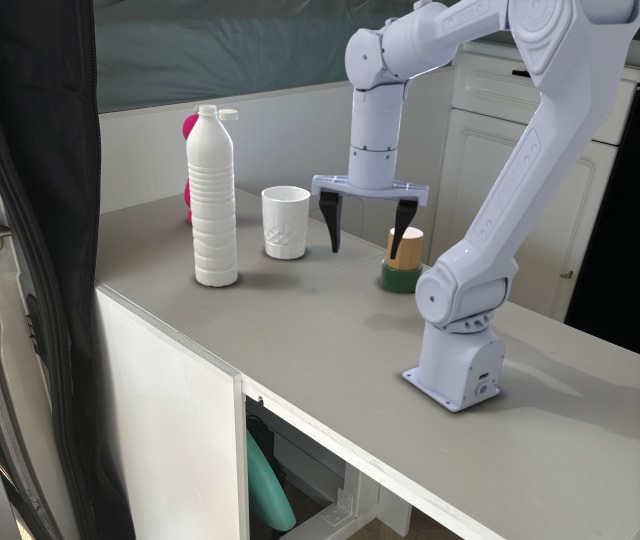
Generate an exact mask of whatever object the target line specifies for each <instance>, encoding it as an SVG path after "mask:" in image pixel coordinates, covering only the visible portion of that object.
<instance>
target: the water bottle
mask: <svg viewBox="0 0 640 540" xmlns="http://www.w3.org/2000/svg"><path fill="white" fill-rule="evenodd" d="M199 105H200V106H199V111H200V112H198V114H199V118H198V120H197V122H196V124H195V125H194V127H193V129H192V131H191V133H190V134H189V136H188V139H187V140H186V144H185V145H186V147H185V150H186V158H187V167H188V168H187V171H188V177H189V184H190V196H191V198H190V201H191V212H192V224H191V226H192V237H193V241H192V242H193V250H194V254H193V255H194V262H195V263H194V269H195V270H194V271H195V279H196V281H197V282H198V283H199V284H202V285H203V286H206V287H211V286H212V287H214V288H215V287H216V288H217V287H218V288H219V287H220V288H221V287H224V286H229V285H232V284H234V283H235V282H236V281H237V280H238V277H239V276H238V273H239V272H238V263H237V261H238V253H237V238H236V235H237V228H236V224H237V221H236V219H237V218H236V214H235V213H236V199H235V173H234V172H235V170H234V144H233V140H232V138H231V136H230V135H229V133H228V131H227V130H226V128H225V127H224V125H223V124H222V122H221V121H224V122H233V121H238V119H239V117H238V116H239V115H238V113H239V112H238V110H236V109H230V108H223V109H219V110H217V106H216V105H214V104H199ZM220 120H221V121H220Z"/></svg>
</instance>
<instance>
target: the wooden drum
mask: <svg viewBox="0 0 640 540" xmlns="http://www.w3.org/2000/svg"><path fill="white" fill-rule="evenodd" d="M394 229H395V227H393V228H391V229H390V230H389V234H388V241H387V242H388V243H387V249H386V257H385V258H386V263H387V264H388V265H389V266H390V267H392V268H395V269H398V270H412V269H416V268H417V267H418V266H419V263H420V262H421V255H422V248H423V241H424V232H423V231H422V230H420V229H418V228H416V227H411V226H408V228H407V229H406V231H405V233H404V235H403V237H402V239H401V242H400V244H399V247H398V250H397V254H396V258H395V260H393V259H390V253H391V248H392V243H393V238H394Z"/></svg>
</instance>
